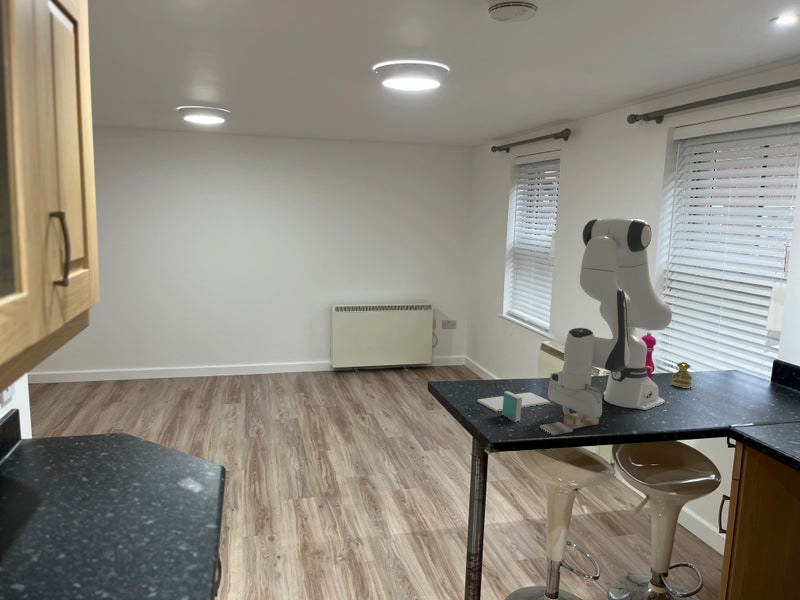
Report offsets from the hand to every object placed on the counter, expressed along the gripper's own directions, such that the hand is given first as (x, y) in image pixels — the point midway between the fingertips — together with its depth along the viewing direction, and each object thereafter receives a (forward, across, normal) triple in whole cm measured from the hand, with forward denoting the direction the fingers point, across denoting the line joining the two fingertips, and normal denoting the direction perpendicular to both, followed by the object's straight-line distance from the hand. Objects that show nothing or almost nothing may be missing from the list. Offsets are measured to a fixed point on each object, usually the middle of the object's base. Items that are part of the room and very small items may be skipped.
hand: (572, 422), depth 187 cm
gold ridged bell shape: (+2, +18, -78) cm, 80 cm away
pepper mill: (+2, +32, -73) cm, 80 cm away
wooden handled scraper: (+2, 0, 0) cm, 2 cm away
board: (+2, +26, +2) cm, 26 cm away
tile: (+2, +14, +13) cm, 19 cm away
